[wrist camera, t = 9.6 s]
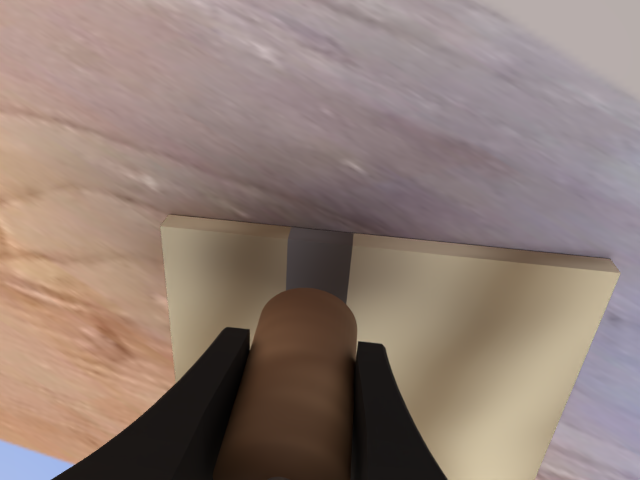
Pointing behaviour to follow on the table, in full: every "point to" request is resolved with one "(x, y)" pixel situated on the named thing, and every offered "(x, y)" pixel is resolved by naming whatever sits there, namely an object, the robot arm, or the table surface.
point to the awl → (295, 393)
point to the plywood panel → (412, 323)
